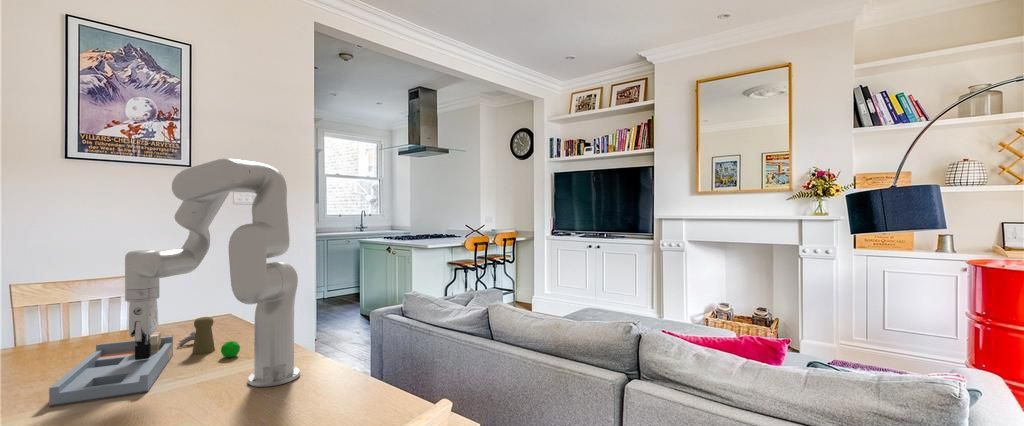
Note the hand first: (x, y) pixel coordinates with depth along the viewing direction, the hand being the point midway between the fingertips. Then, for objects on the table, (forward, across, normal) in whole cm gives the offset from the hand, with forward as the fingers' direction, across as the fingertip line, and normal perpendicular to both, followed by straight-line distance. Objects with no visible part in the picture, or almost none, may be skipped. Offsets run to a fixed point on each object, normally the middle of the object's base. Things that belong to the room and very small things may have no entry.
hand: (142, 358), depth 126 cm
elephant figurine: (+4, +24, -9) cm, 26 cm away
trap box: (+4, -3, +4) cm, 6 cm away
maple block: (0, +9, 0) cm, 9 cm away
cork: (+4, +13, -13) cm, 18 cm away
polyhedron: (+4, +3, -21) cm, 21 cm away
